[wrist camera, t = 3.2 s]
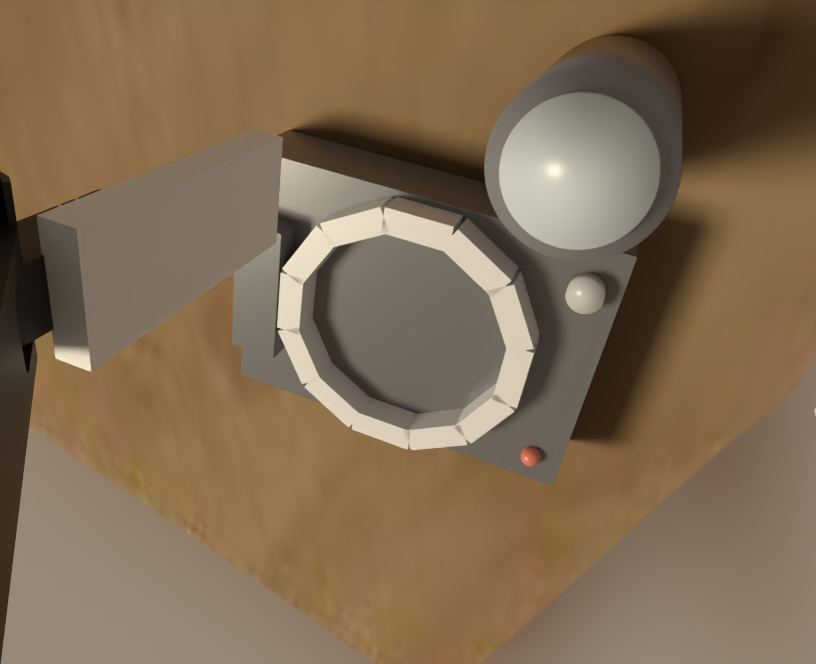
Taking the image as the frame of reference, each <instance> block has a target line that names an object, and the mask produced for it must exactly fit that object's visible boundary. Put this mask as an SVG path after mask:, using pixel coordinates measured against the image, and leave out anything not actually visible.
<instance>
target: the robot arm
mask: <svg viewBox="0 0 816 664" xmlns="http://www.w3.org/2000/svg"><path fill="white" fill-rule="evenodd" d="M282 144H283V137H281V136H277V135H273V134H270V133H266V132H263V131H259V130H255V129H254V130H251V131H249V132H246V133H244V134H241V135H239V136H236V137H233V138H231V139H228V140H226V141H223V142H221V143H218V144H216V145H213V146H211V147H208V148H206V149H203V150H201V151H198V152H196V153H193V154H191V155H188V156H185V157H183V158H180V159H178V160H175V161H173V162H170V163H168V164H165V165H163V166H160V167H158V168H155V169H153V170H150V171H148V172H145V173H143V174H140V175H137V176H135V177H132V178H130V179H127V180H125V181H122V182H120V183H117V184H115V185H112V186H110V187H107V188H105V189H99V190H96V191H93V192H91V193H88V194H86V195H83V196H81V197H78V199H77V200H75V199H73V200H70V201H68V202H65V203H63V204H61V206H55V207H53V208H50V209H47V210H45V211H42V212H40V213H37V214H35V215H32V216H30V217H27V218H25V219H22V220H19V221H16V214H15V208H14V201H13V195H12V188H11V182H10V179H9V176H7V175H5V174H4V173H2V172H0V664H1V656H2V647H3V639H4V631H5V622H6V614H7V606H8V596H9V589H10V580H11V572H12V564H13V556H14V547H15V539H16V531H17V522H18V514H19V506H20V497H21V489H22V480H23V472H24V463H25V456H26V447H27V439H28V431H29V422H30V414H31V406H32V397H33V389H34V381H35V372H36V364H37V353H36V346H35V340H36V339H37V338H39V337H41V336H42V335H44V334H46V333H48V332H49V331H51V330H52V335H53V342H54V350H55V357H56V359H59V360H61V361H64V362H66V363H69V364H72V365H74V366H77V367H80V368H82V369H85V370H88V371H90V372H92V371H93V370H95V369H96V368H98V367H99V366H101V365H102V364H103V363H105V362H106V361H108V360H109V359H111V358H112V357H113V356H115V355H116V354H118V353H119V352H121V351H122V350H124V349H125V348H126V347H128V346H129V345H131V344H132V343H134V342H135V341H136V340H138V339H139V338H141V337H142V336H144V335H145V334H146V333H148V332H149V331H151V330H152V329H154V328H155V327H157V326H158V325H159V324H161V323H162V322H164V321H165V320H167V319H168V318H169V317H171V316H172V315H174V314H175V313H177V312H178V311H179V310H181V309H182V308H184V307H185V306H187V305H188V304H190V303H191V302H192V301H194V300H195V299H197V298H198V297H200V296H201V295H202V294H204V293H205V292H207V291H208V290H210V289H211V288H212V287H214V286H215V285H217V284H218V283H220V282H221V281H222V280H224V279H225V278H227V277H228V276H230V275H231V274H233V273H234V272H235V271H237V270H238V269H240V268H241V267H243V266H244V265H245V264H247V263H248V262H250V261H251V260H253V259H254V258H255V257H257V256H258V255H260V254H261V253H263V252H264V251H266V250H267V249H268V248H270V247H271V246H273V245H274V244H276V239H277V223H278V207H279V192H280V176H281V160H282ZM814 412H815V415H816V408H815V410H814Z"/></svg>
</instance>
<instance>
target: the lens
mask: <svg viewBox="0 0 816 664" xmlns="http://www.w3.org/2000/svg"><path fill="white" fill-rule="evenodd" d="M484 174H485V184H486V188H487V192H488V196H489V198H490V201H491V204H492V206H493V208H494V210H495V212H496V214H497V216H498V217H499V219H500V220H501V222H502V223H503V224H504V226H505V227H506V228H507V229H508V230H509V231H510V232H511V234H512V235H514V236H515V237H516V238H517V239H518V240H519V241H521V242H522V243H523V244H525V245H526V246H528V247H530V248H531V249H533V250H535V251H537V252H539V253H541V254H544V255H547V256H549V257H552V258H556V259H561V260H566V261H576V262H577V261H594V260H601V259H605V258H609V257H612V256H615V255H618V254H620V253H623V252H625V251H627V250H629V249H630V248H632V247H634V246H636V245H637V244H639V243H640V242H641V241H643V240H644V239H646V238H647V237H648V236H649V235H650V234H651V233H652V232H653V231H654V230H655V229H656V228H657V227H658V226H659V224H660V223H661V222H662V221H663V220H664V218H665V217H666V215H667V213H668V212H669V210H670V209H671V207H672V204H673V202H674V200H675V198H676V195H677V192H678V189H679V186H680V181H681V174H682V90H681V85H680V82H679V78H678V76H677V74H676V71H675V69H674V68H673V66H672V65H671V63H670V62H669V60H668V59H667V58H666V57H665V56H664V54H662V53H661V52H660V51H659V50H658V49H657V48H655V47H654V46H652V45H651V44H649V43H647V42H645V41H643V40H640V39H637V38H634V37H630V36H624V35H608V36H600V37H597V38H593V39H590V40H588V41H585V42H583V43H581V44H579V45H577V46H576V47H574V48H573V49H571V50H570V51H569V52H567V53H566V54H565V55H564V56H562V57H561V58H560V59H559V60H558V61H557V62H555V63H554V64H553V65H552V66H551V67H550V68H548V69H547V70H546V71H545V72H544V73H543V74H541V75H540V76H539V77H538V78H537V79H536V80H534V81H533V82H532V83H531V84H530V85H529V86H528V87H526V88H525V89H524V90H523V91H522V92H521V93H519V94H518V95H517V96H516V97H515V98H514V99H513V100H512V101H511V102H510V103H509V104H508V106H507V107H506V108H505V109H504V111H503V112H502V113H501V115H500V117H499V118H498V120H497V122H496V123H495V125H494V127H493V130H492V132H491V134H490V137H489V140H488V144H487V147H486V154H485V162H484Z"/></svg>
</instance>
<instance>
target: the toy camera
mask: <svg viewBox="0 0 816 664" xmlns="http://www.w3.org/2000/svg"><path fill="white" fill-rule="evenodd" d="M277 136H281V137H283V144H282V160H281V176H280V192H279V207H278V223H277V239H276V244H274V245H273V246H271V247H270V248H268V249H267V250H266V251H264V252H263V253H261V254H260V255H258V256H257V257H255V258H254V259H253V260H251V261H250V262H248V263H247V264H245V265H244V266H243V267H241V268H240V269H238V270H237V271H235V272H234V292H233V333H232V344H233V345H236V346H239V347H241V348H242V357H241V374H242V375H245V376H247V377H250V378H253V379H256V380H259V381H261V382H264V383H267V384H270V385H273V386H275V387H278V388H281V389H284V390H287V391H289V392H292V393H295V394H298V395H301V396H303V397H306V398H309V399H312V400H314V401H317V402H320V403H322V404H323V405H324V406H326V407H327V408H328V409H329V410H330V411H331V412H332V413H333V414H334V415H335V416H337V417H338V418H339V419H340V420H341V421H342V422H343V423H344V424H345V425H346V426H348V427H349V426H350V425H351V424H353V425H352V430H355V431H358V432H360V433H363V434H366V435H369V436H371V437H374V438H377V439H380V440H383V441H385V442H388V443H391V444H394V445H396V446H399V447H402V448H405V449H408V447H409V446H410V448H411V450H418V449H429V448H440V447H446V448H449V449H451V450H454V451H457V452H460V453H462V454H465V455H468V456H471V457H474V458H476V459H479V460H482V461H485V462H488V463H490V464H493V465H496V466H499V467H502V468H504V469H507V470H510V471H513V472H516V473H518V474H521V475H524V476H527V477H529V478H532V479H535V480H538V481H541V482H543V483H546V484H549V485H552V486H553V483H554V480H555V478H556V475H557V472H558V470H559V467H560V464H561V462H562V459H563V456H564V454H565V451H566V448H567V446H568V443H569V440H570V437H571V435H572V432H573V429H574V427H575V424H576V421H577V419H578V416H579V413H580V411H581V408H582V405H583V402H584V400H585V397H586V394H587V392H588V389H589V386H590V384H591V381H592V378H593V376H594V373H595V370H596V367H597V365H598V362H599V359H600V357H601V354H602V351H603V349H604V346H605V343H606V341H607V338H608V335H609V332H610V330H611V327H612V324H613V322H614V319H615V316H616V314H617V311H618V308H619V306H620V303H621V300H622V297H623V295H624V292H625V289H626V287H627V284H628V281H629V279H630V276H631V273H632V271H633V268H634V265H635V263H636V260H637V257H638V250H639V244H637V245H636V246H634V247H632V248H630V249H629V250H627V251H625V252H623V253H620V254H618V255H615V256H612V257H609V258H605V259H601V260H594V261H577V262H576V261H566V260H561V259H556V258H552V257H549V256H547V255H544V254H541V253H539V252H537V251H535V250H533V249H531V248H530V247H528V246H526V245H525V244H523V243H522V242H521V241H519V240H518V239H517V238H516V237H515V236H514V235H512V234H511V232H510V231H509V230H508V229H507V228H506V227H505V226H504V224H503V223H502V222H501V220H500V219H499V217H498V216H497V214H496V212H495V210H494V208H493V206H492V204H491V201H490V198H489V196H488V192H487V188H486V184H485V183H484V182H481V181H477V180H473V179H469V178H466V177H462V176H458V175H455V174H451V173H447V172H444V171H440V170H436V169H432V168H429V167H425V166H421V165H418V164H414V163H410V162H407V161H403V160H399V159H395V158H392V157H388V156H384V155H381V154H377V153H373V152H370V151H366V150H362V149H358V148H355V147H351V146H347V145H344V144H340V143H336V142H333V141H329V140H325V139H321V138H318V137H314V136H310V135H307V134H303V133H299V132H296V131H292V130H288V131H286V132H284V133H282V134H279V135H277Z"/></svg>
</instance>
